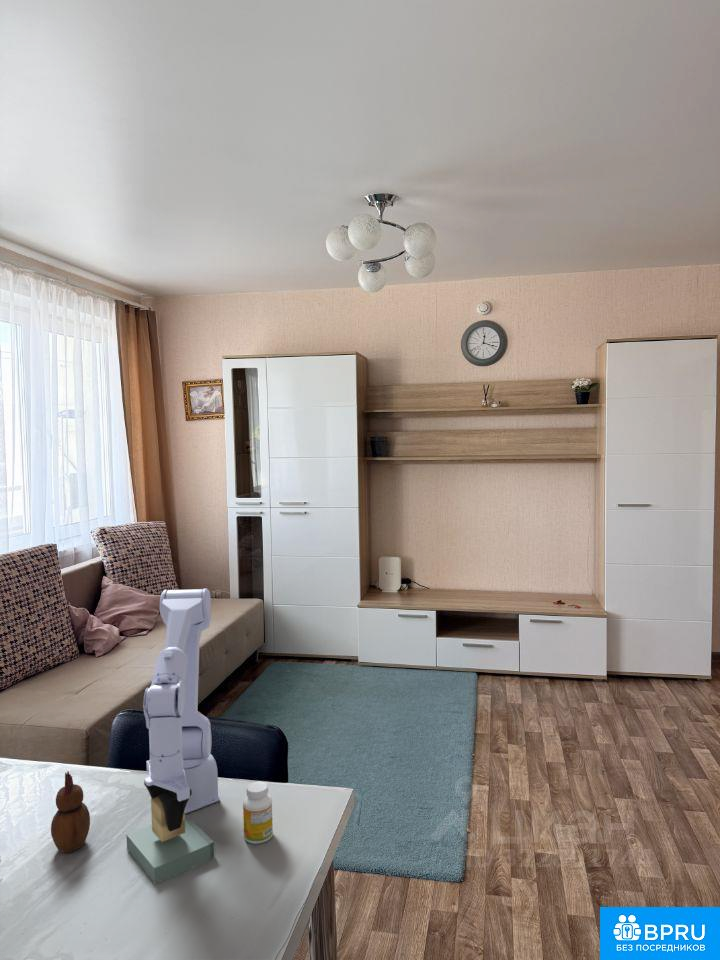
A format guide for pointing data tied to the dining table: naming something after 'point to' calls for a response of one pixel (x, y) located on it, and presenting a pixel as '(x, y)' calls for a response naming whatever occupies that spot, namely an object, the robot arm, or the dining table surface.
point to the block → (163, 822)
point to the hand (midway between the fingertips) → (168, 822)
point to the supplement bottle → (257, 813)
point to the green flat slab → (170, 851)
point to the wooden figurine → (70, 817)
